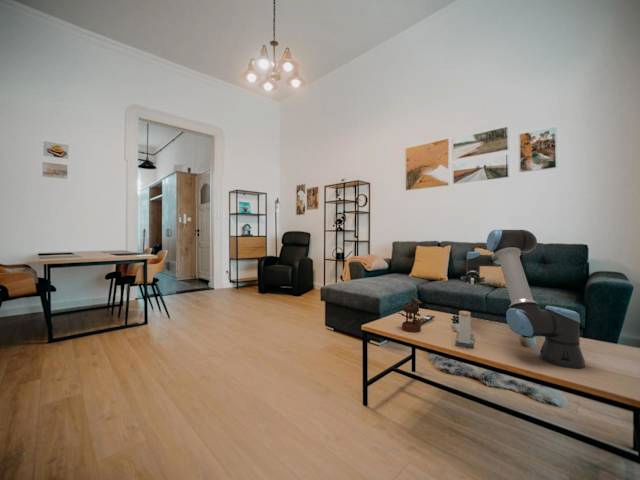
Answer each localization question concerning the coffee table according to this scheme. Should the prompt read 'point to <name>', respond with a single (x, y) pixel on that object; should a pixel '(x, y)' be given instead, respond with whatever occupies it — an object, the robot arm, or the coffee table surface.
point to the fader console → (465, 343)
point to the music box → (410, 308)
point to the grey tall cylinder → (464, 326)
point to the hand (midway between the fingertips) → (472, 281)
